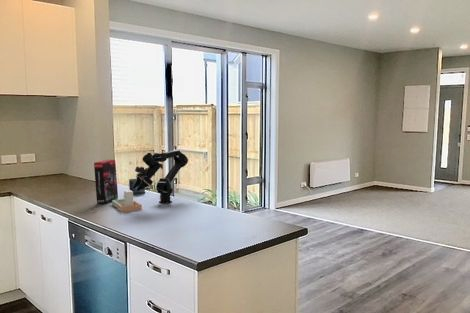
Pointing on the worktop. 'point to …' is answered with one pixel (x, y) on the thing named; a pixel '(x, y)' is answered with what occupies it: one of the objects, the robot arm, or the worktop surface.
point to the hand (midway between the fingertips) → (135, 189)
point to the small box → (131, 184)
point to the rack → (121, 206)
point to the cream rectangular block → (128, 197)
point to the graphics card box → (105, 181)
